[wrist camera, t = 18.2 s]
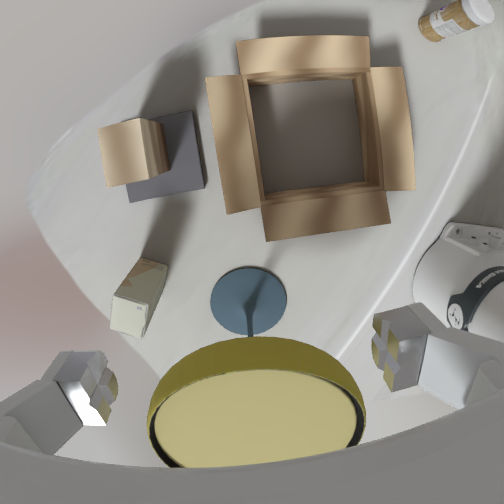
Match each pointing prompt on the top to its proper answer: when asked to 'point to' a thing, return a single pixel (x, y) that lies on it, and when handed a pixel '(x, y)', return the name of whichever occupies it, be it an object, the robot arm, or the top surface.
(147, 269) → the box
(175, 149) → the mat
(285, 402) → the cocktail glass
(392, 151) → the carton
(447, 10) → the sprinkles bottle
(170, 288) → the top surface
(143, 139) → the block
